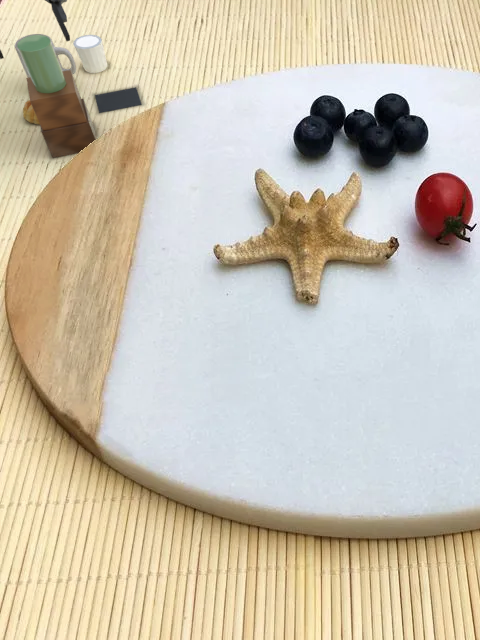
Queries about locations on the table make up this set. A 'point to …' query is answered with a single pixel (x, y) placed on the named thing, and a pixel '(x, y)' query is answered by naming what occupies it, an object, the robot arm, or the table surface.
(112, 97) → the slate mat
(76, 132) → the walnut block
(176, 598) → the table surface
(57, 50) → the mug
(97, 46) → the white cup
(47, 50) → the green canister
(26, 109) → the pastry
